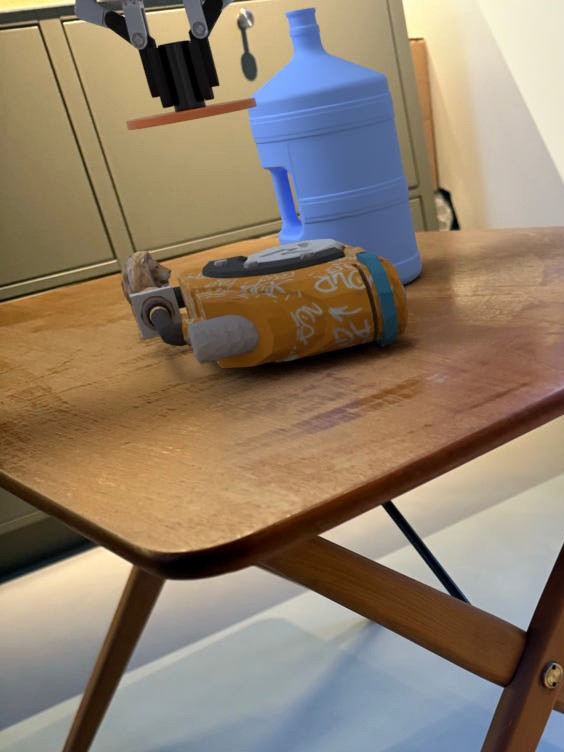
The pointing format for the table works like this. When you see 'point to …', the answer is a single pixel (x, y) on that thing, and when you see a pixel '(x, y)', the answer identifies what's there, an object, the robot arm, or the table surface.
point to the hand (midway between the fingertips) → (188, 101)
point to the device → (278, 304)
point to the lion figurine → (142, 276)
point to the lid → (185, 91)
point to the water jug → (335, 151)
